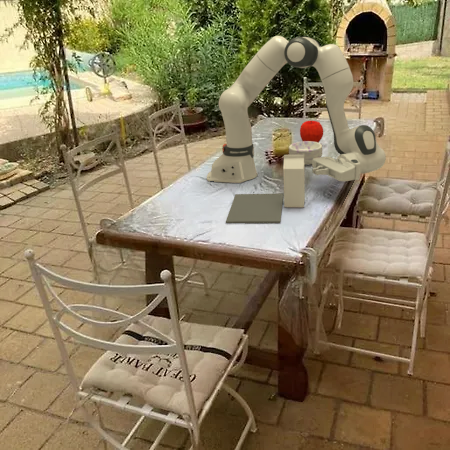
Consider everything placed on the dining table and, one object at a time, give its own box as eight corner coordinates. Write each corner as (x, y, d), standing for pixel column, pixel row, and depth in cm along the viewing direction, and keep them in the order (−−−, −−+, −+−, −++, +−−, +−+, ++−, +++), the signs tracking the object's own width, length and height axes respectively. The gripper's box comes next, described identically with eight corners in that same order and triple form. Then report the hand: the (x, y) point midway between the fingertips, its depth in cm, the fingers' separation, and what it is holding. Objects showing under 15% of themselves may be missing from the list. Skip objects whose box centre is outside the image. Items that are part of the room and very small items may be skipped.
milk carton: (303, 207, 175) (303, 157, 167) (284, 207, 177) (283, 158, 169) (304, 200, 181) (304, 151, 173) (285, 200, 183) (284, 152, 175)
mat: (225, 223, 168) (225, 221, 167) (235, 196, 191) (235, 194, 191) (280, 223, 165) (280, 221, 164) (283, 195, 188) (283, 193, 187)
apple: (328, 146, 244) (328, 120, 238) (311, 151, 238) (311, 124, 233) (311, 142, 253) (311, 116, 247) (295, 147, 247) (294, 121, 242)
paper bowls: (300, 169, 215) (300, 152, 212) (283, 161, 228) (282, 144, 224) (328, 162, 220) (329, 146, 217) (310, 155, 233) (310, 139, 229)
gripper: (331, 150, 189) (300, 156, 185) (362, 164, 171) (329, 171, 167) (330, 166, 191) (300, 172, 187) (362, 181, 174) (329, 188, 170)
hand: (314, 172), depth 177 cm, fingers closed
